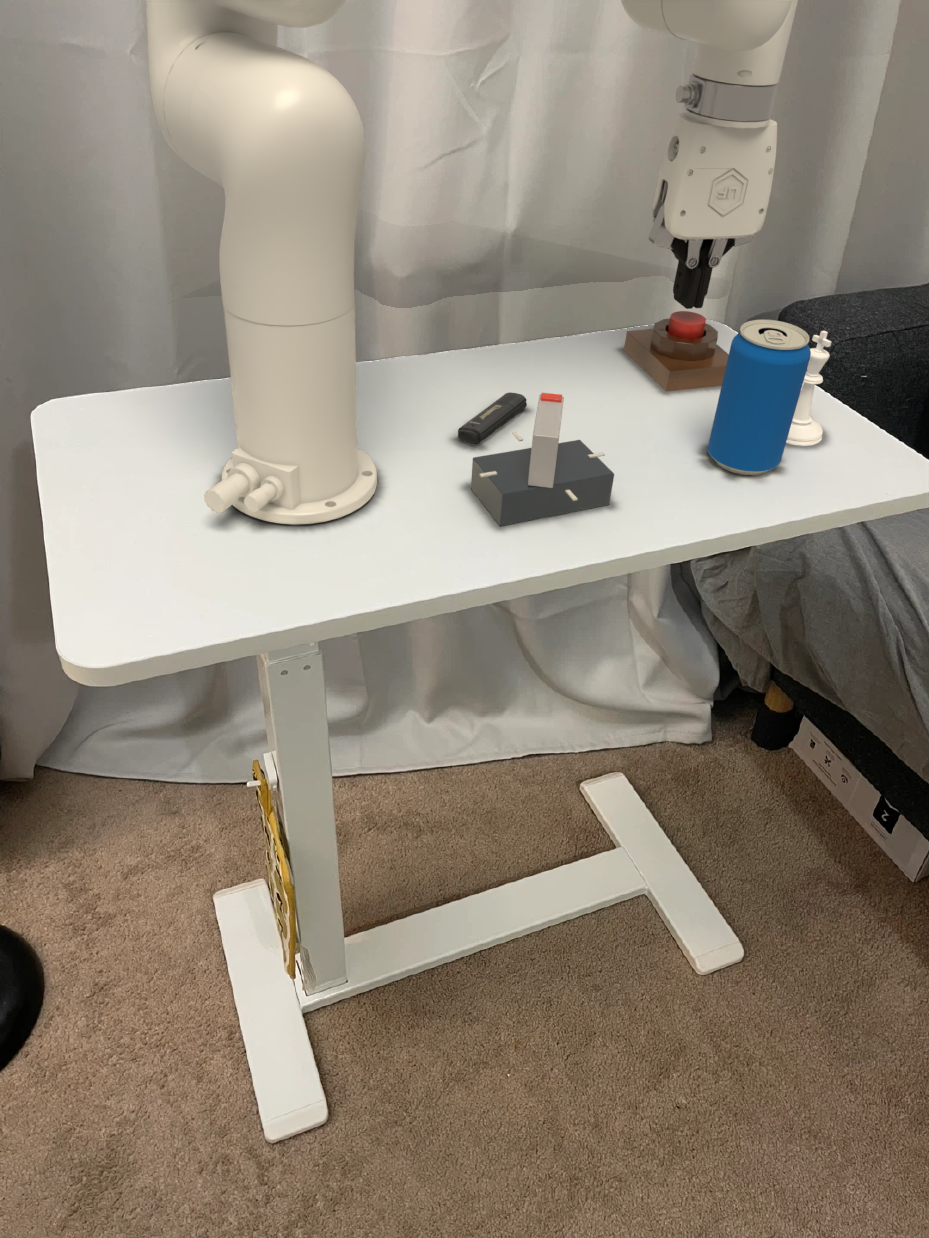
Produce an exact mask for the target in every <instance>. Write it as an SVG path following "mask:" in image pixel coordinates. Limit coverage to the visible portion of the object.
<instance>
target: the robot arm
mask: <svg viewBox="0 0 929 1238" xmlns="http://www.w3.org/2000/svg"><path fill="white" fill-rule="evenodd" d="M620 1H621V4H622V8H623V9H624V11H625V12H626V14H627V16H628V17H629V18H630V19H631V20H632V21H633V22H634V23H635V24H636V25H638V26H640V27H641V28H642V29H644V30H647V31H649V32H651V33H654V34H659V35H662V36H666V37H670V38H674V39H678V40H683V41H686V40H687V41H690V42H691V41H692V42H696V43H697V44H696V50H695V55H694V59H693V65H692V73H691V75H689V80H688V83H687V84H686V85H679V86H678V87H677V89H676V91H675V100H676V102H677V103H678V104H684V106H683V107H684V108H685V109H684V112H679V113H678V115H677V117H676V120H675V122H674V124H673V127H672V129H671V133H670V135H669V138H668V141H667V144H666V148H665V151H664V154H663V157H662V161H661V164H660V169H659V171H658V176H657V181H656V185H655V189H654V195H653V200H652V207H651V220H652V222H653V225H652V227H651V229H650V232H649V234H648V240H649V242H650V243H652V244H653V245H654V246H656V247H660V248H664V249H668V250H670V251H671V252H672V254H673V255H674V258H675V259H676V260H677V261H678V262H677V265H676V270H675V271H676V272H675V277H674V280H673V281H674V282H673V287H672V292H673V299H674V301H676V302H677V303H678V304H680V305H681V306H682V307H683V308H684V309H686V310H692V309H693V308H695V309H702V308H703V306H704V302H705V297H706V296H707V294H708V293H709V287H710V283H711V278H712V273H713V270H714V269H715V268H717V267H718V266H719V265H720V263H721V261H722V258H723V257H724V256H725V255H726V254H727V253H728V252H729V251H730V250H731V249H732V248H733V247H739V246H742V245H744V244H749V243H751V241H752V240H753V238H754V236H755V235H757V234H758V233H759V232H760V231H761V230H762V228H763V226H764V223H765V221H766V216H767V212H768V207H769V203H770V197H771V191H772V188H773V187H772V186H773V180H774V174H775V165H776V159H777V157H776V156H777V145H778V144H777V143H778V142H777V141H778V122H777V121H775V120H773V119H771V117H772V112H773V108H774V104H775V100H776V95H777V91H778V87H779V82H780V79H781V74H782V69H783V67H784V61H785V59H786V52H787V49H788V45H789V40H790V36H791V32H792V28H793V23H794V19H795V16H796V15H795V14H796V10H797V6H798V2H799V0H620ZM345 2H346V0H145V11H146V13H145V14H146V37H147V60H148V63H147V64H148V78H149V88H150V96H151V102H152V108H153V112H154V117H155V119H156V123H157V126H158V128H159V131H160V132H161V134H162V137H163V138H164V140H165V142H166V143H167V145H168V146H169V147H170V149H171V150H172V151H173V152H174V153H175V154H176V155H177V157H179V158H180V159H181V160H182V161H183V162H184V163H186V164H187V165H188V166H190V167H191V168H192V169H194V170H196V171H197V172H198V173H200V174H201V175H204V176H205V177H207V178H208V179H210V180H211V181H213V182H215V183H216V184H218V185H219V186H220V187H222V188H223V190H224V215H223V223H222V228H221V235H220V242H219V253H218V255H219V258H218V259H219V260H218V263H219V264H218V265H219V280H220V291H221V302H222V306H223V307H222V308H223V318H224V326H225V335H226V337H225V338H226V344H227V345H226V346H227V355H228V364H229V374H230V384H231V385H230V386H231V394H232V403H233V405H232V406H233V413H234V423H235V432H236V440H237V441H236V442H237V443H236V444H237V448H235V449H234V450H233V451H232V452H231V457H230V458H229V460H228V461H227V462H226V463H225V465H224V467H223V469H222V472H221V480H220V481H219V482H217V483H216V484H214V485H213V486H211V487H210V488H209V489H208V490H206V491H205V492H204V494H203V497H204V498H203V499H204V503H205V504H206V506H207V507H208V508H209V510H211V511H212V512H214V513H216V514H222V513H223V512H224V511H226V510H228V508H230V507H232V506H233V507H234V508H235V509H237V510H238V511H239V512H241V513H244V514H245V515H247V516H249V517H252V518H254V519H258V520H261V521H264V522H269V523H274V524H281V525H311V524H312V525H313V524H319V523H325V522H329V521H333V520H336V519H340V518H343V517H344V516H348V515H349V514H352V513H354V512H355V511H357V510H359V509H361V508H362V507H363V506H364V505H366V503H367V502H369V501H370V500H371V498H372V497H373V495H374V494H375V493H376V489H377V486H378V481H377V480H378V471H377V467H376V464H375V462H374V461H373V460H372V458H371V457H370V456H369V455H368V454H367V453H366V452H365V451H363V450H361V449H360V448H358V409H357V407H358V403H357V402H358V401H357V397H358V396H357V354H356V353H357V346H356V345H357V343H356V340H357V339H356V338H357V337H356V304H355V303H356V302H355V244H356V243H355V242H356V241H355V240H356V228H357V217H358V210H359V203H360V197H361V191H362V187H363V180H364V175H365V165H366V155H367V154H366V136H365V130H364V125H363V122H362V117H361V115H360V112H359V111H358V108H357V106H356V104H355V102H354V100H353V98H352V96H351V95H350V93H349V92H348V90H347V89H346V87H345V86H344V85H343V84H342V83H341V82H340V81H339V79H337V78H336V77H335V76H334V75H333V74H332V73H331V72H329V71H328V70H327V69H326V68H324V67H322V66H321V65H320V64H318V63H317V62H314V61H313V60H311V59H309V58H307V57H304V56H302V55H300V54H297V53H296V52H292V51H290V50H287V49H284V48H281V47H279V46H278V35H279V34H278V30H279V26H283V27H286V28H296V29H299V28H300V29H301V28H310V27H315V26H318V25H321V24H323V23H325V22H327V21H329V20H330V19H331V18H333V17H334V16H335V15H336V14H337V13H338V12H339V11H340V10H341V9H342V7H343V5H344V4H345Z"/></svg>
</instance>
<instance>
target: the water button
mask: <svg viewBox="0 0 929 1238" xmlns="http://www.w3.org/2000/svg"><path fill="white" fill-rule="evenodd" d="M669 319H670V321H669V326H668V333H669V334H670V335H673V336H676V337H678V338H684V339H699V338H702V337H703V333H704V328H705V324H707V318H706V317H705V316H704V315H702V314H700V313H697V312H694V311H688V310H679V311H674V312H672V313H670V316H669Z"/></svg>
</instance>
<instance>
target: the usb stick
mask: <svg viewBox="0 0 929 1238" xmlns="http://www.w3.org/2000/svg"><path fill="white" fill-rule="evenodd" d="M526 407H527V398H526V396H524V395H523V394H522V393H521V394H520V393H518V392H511V391H510V392H506V393H504V394H503V395H502V396H500V397H499V398H498V399H496V400H495V401H494V402H492V403H491V404H490V405H489V406H487V407H486V408H484V409H483V410H482V411H480V412H479V413H477V414H476V415H475V416H474V417H472V418H471V419H470V420H468V421H467V422H465V423H464V424H463V425H461V426H460V427H459V428H458V429H457V439H459V440H461V441H462V442H465V443H467V444H470V445H480V444H481V443H482V442H484V441H485V440H486V439H487V438H489V437H490V436H492V435H493V434H494V433H495V432H496V431H498V430H499V429H500V428H502V427H504V425H506V424H507V423H508V422H509V421H510V420H512V419H514V418H515V417H516V416H517V415H518V414H519V413H521V412H522V411H524V409H526Z"/></svg>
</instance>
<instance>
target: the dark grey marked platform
mask: <svg viewBox="0 0 929 1238" xmlns="http://www.w3.org/2000/svg"><path fill="white" fill-rule="evenodd" d="M511 434H512V436H513V437H514V438H515V439H516V440H517V441H518V442H523V441H524V438H523V437H522V436H521V435H520V434H519V433H518V432H517V431H514V432H513V431H512V432H511ZM531 448H532V447H528V448H522V449H516V450H509V451H504V452H499V453H493V454H487V455H486V454H485V455H481V456H475V457H472V464H471V478H470V479H471V480H470V489H471V491H472V492H473V493H474V495H475V496H476V497H477V499H478V500H479V501H480V502H481V504H482V505H483V506H484V508H485V509H486V510H487V511H488V513H489V515H491V517H492V518H493V519H494V520H495V522H496V523H497V524H498V526H500V527H503V526H504V527H505V526H508V525H514V524H519V523H524V522H529V521H534V520H539V519H544V518H548V517H549V518H550V517H555V516H560V515H565V514H569V513H575V512H579V511H584V510H585V511H586V510H591V509H595V508H596V509H597V508H600V507H605V506H609V505H610V504H611V503H610V502H611V497H612V491H613V485H614V480H615V479H614V478H615V473H614V472H613V471H612V470H611V469H610V468H609V467H608V466H607V465H606V464H605V463H604V462H603V461H602V460H601V458H600V457H605V453H604V451H602V452H596V453H594V452H593V451H592V450H591V449H590V448H589V447H588V446H587V445H586V444H585V443H584V442H583V441H582V440H581V439H575V440H568V441H564V442H559V443H558V451H557V459H556V467H555V475H554V483H553V488H547V487H538V486H529V485H528V477H529V467H530V458H531Z"/></svg>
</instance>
